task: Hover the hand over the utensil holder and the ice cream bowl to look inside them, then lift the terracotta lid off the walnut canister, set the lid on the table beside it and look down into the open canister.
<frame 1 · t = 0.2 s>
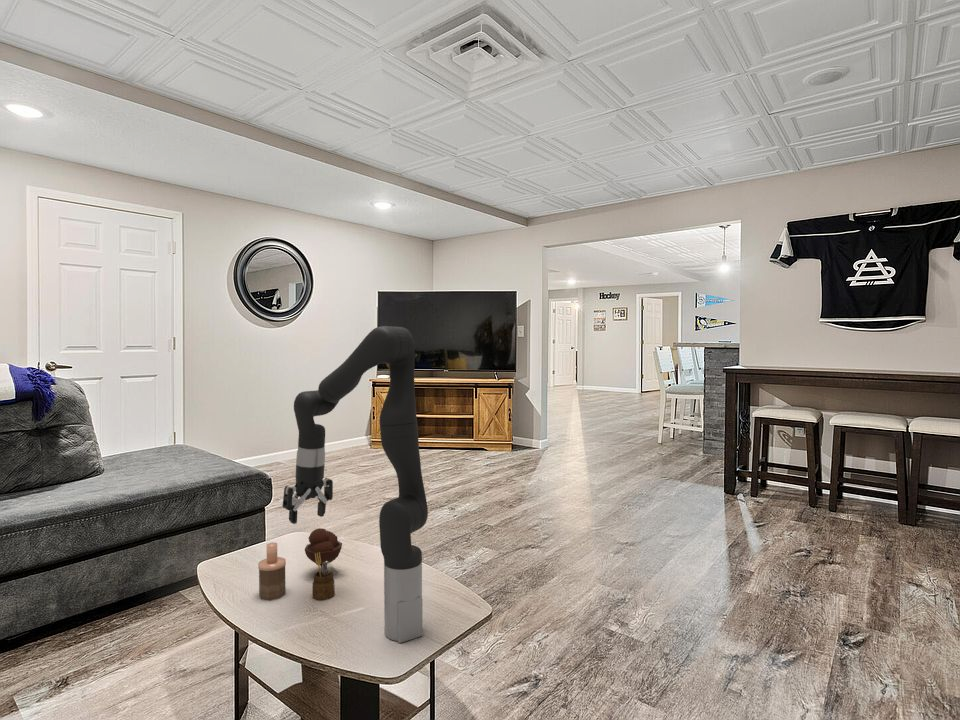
hand: (307, 519, 149), 22 cm above the table, tool pointing down, fingers open, 8 cm apart
ice cream bowl: (324, 577, 164), on the table
lid: (272, 565, 150), point 9 cm above the table, touching canister
utensil holder: (323, 599, 149), on the table
canister: (272, 597, 150), on the table
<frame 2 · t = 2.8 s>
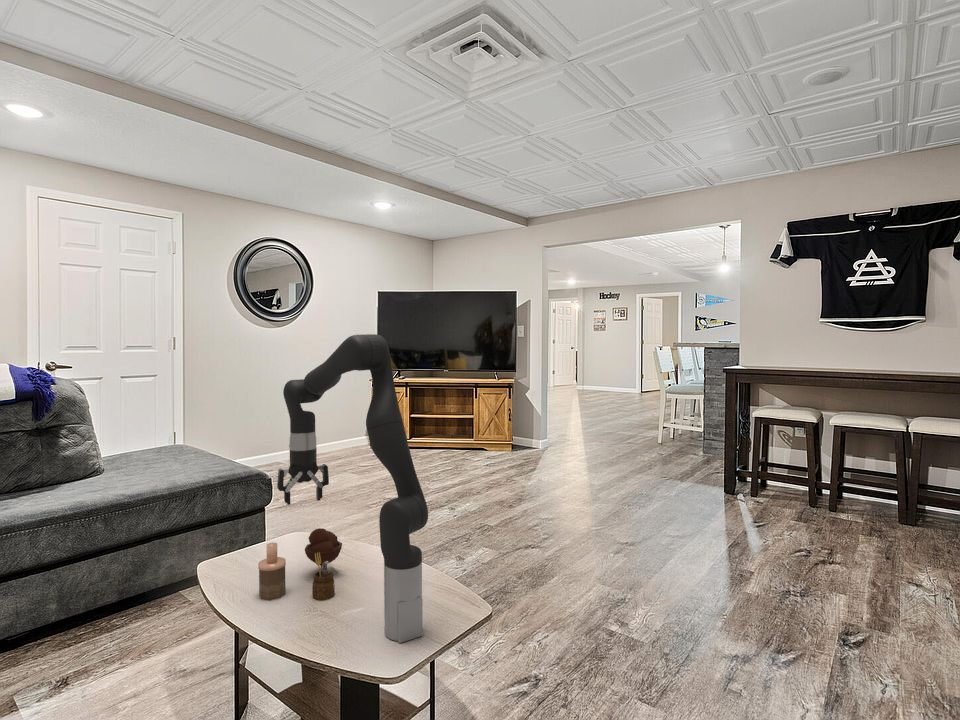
hand: (303, 502, 158), 24 cm above the table, tool pointing down, fingers open, 8 cm apart
nothing on the table moved.
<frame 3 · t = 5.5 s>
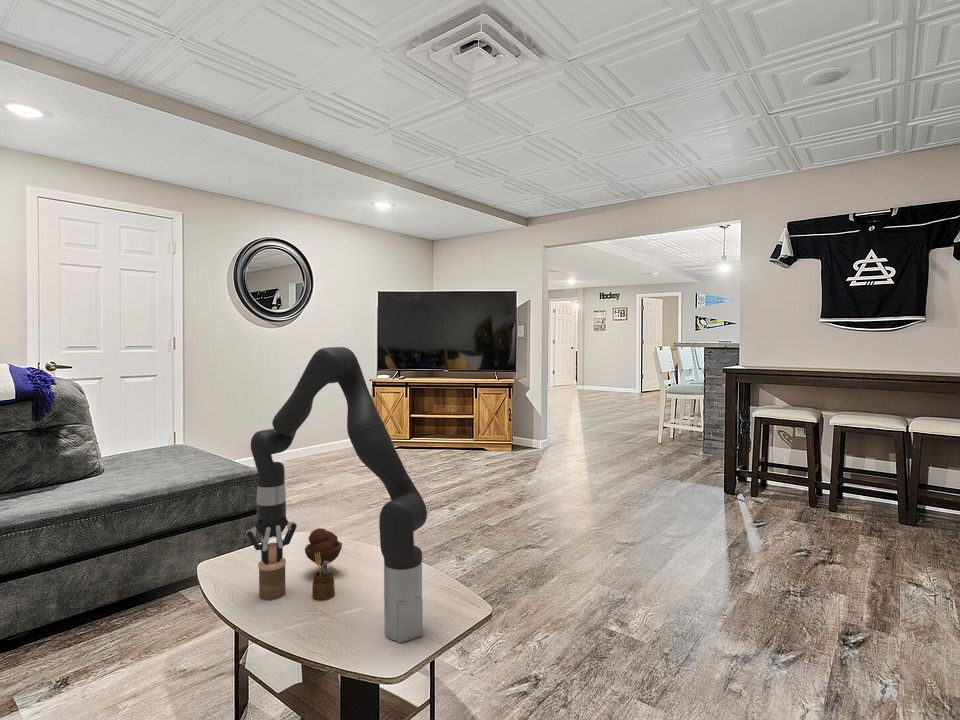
hand: (272, 561, 150), 10 cm above the table, tool pointing down, fingers closed on lid, 2 cm apart
lid: (272, 565, 150), point 9 cm above the table, touching canister, gripper
everything else where it was.
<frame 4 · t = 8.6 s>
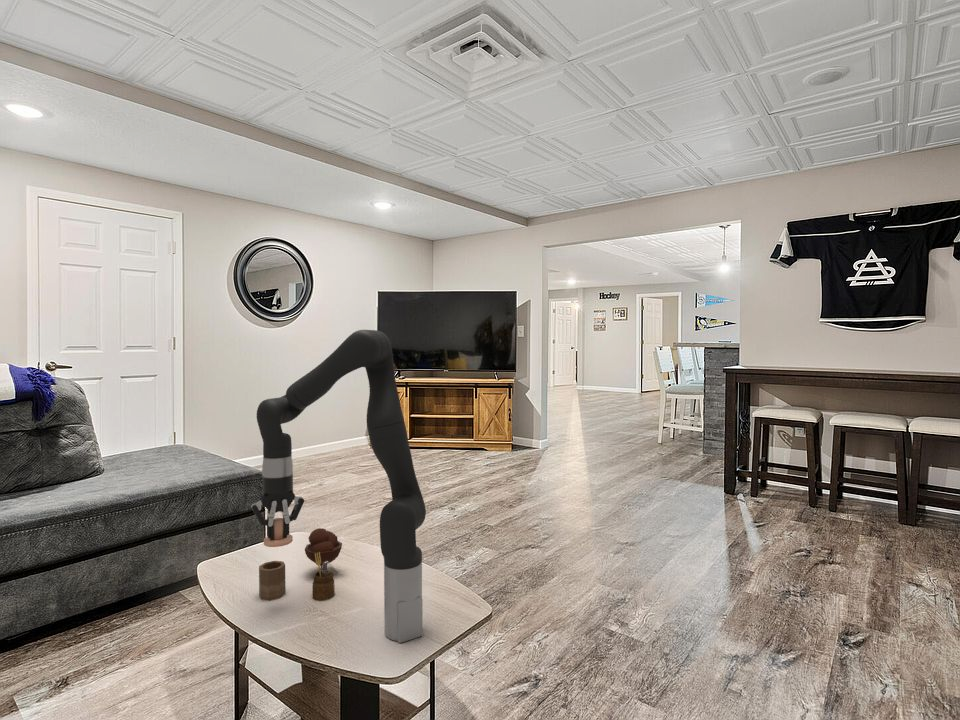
hand: (278, 537, 142), 20 cm above the table, tool pointing down, fingers closed on lid, 2 cm apart
lid: (278, 541, 142), point 18 cm above the table, touching gripper
everything else where it was.
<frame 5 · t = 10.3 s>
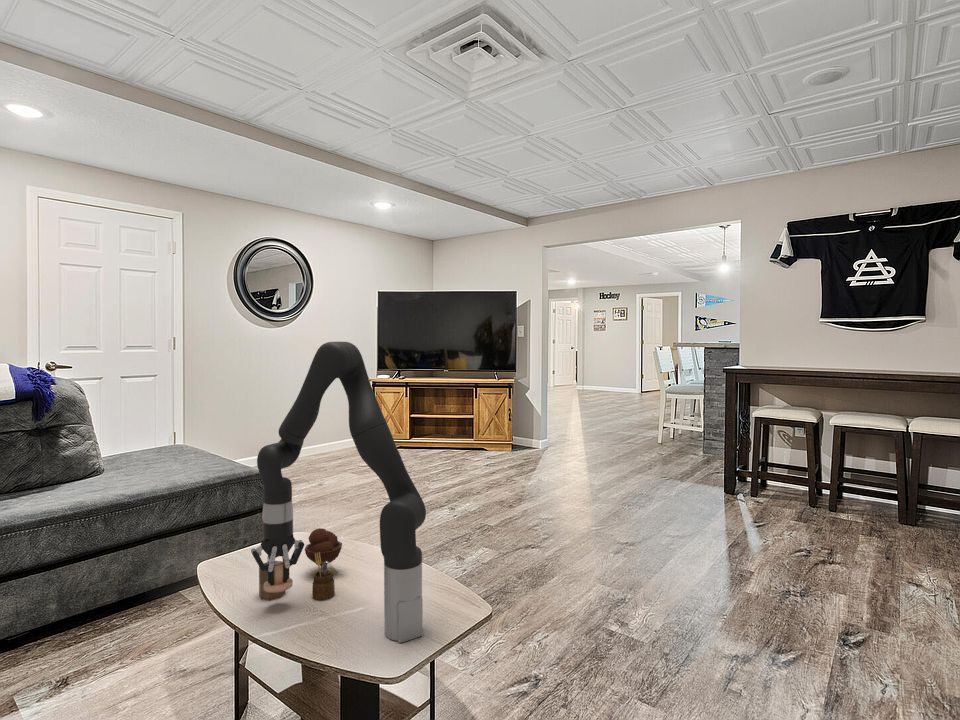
hand: (278, 582, 142), 8 cm above the table, tool pointing down, fingers closed on lid, 2 cm apart
lid: (278, 586, 142), point 7 cm above the table, touching gripper
everything else where it was.
when the fingers open (3 cm above the table, at t = 11.8 s): lid drops 2 cm, on the table.
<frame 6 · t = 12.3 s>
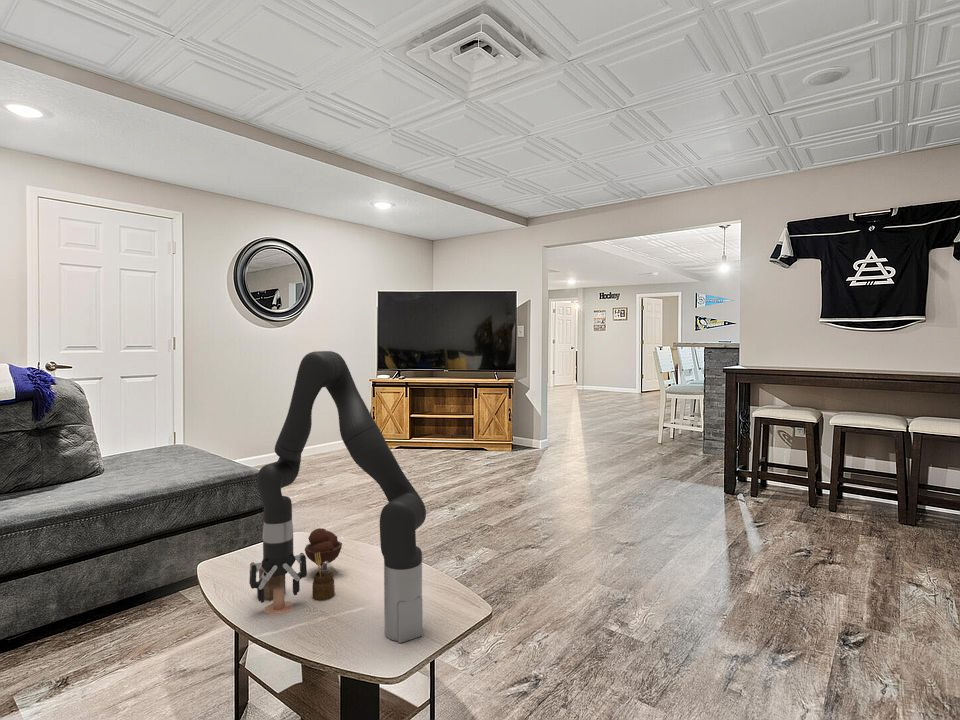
hand: (278, 597, 142), 4 cm above the table, tool pointing down, fingers open, 8 cm apart
lid: (279, 611, 142), on the table
everything else where it was.
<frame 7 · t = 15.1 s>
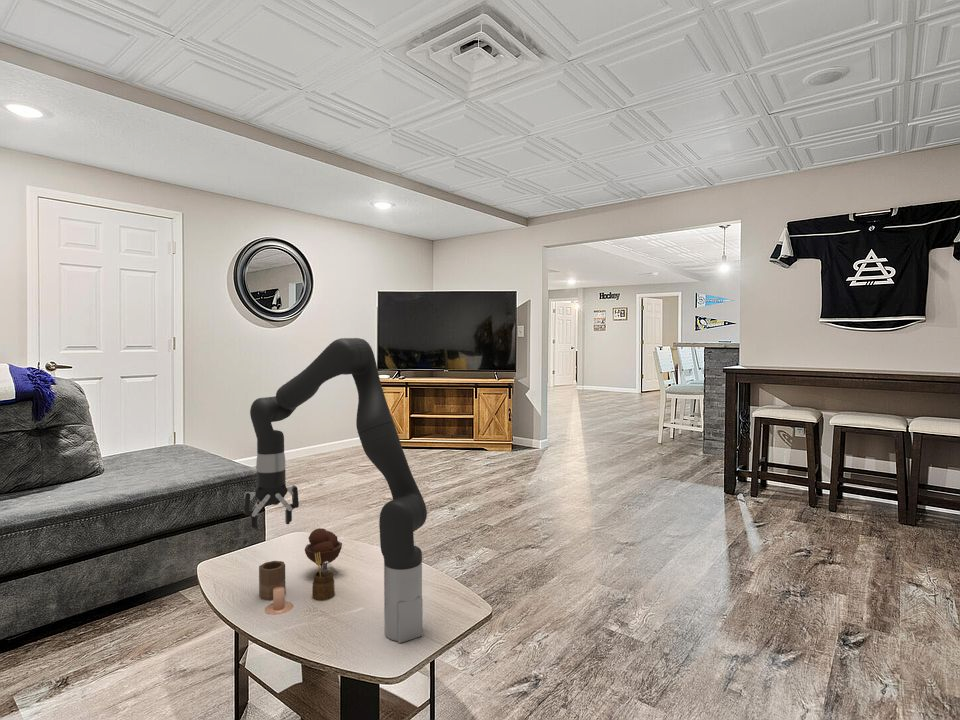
hand: (271, 526, 150), 20 cm above the table, tool pointing down, fingers open, 8 cm apart
nothing on the table moved.
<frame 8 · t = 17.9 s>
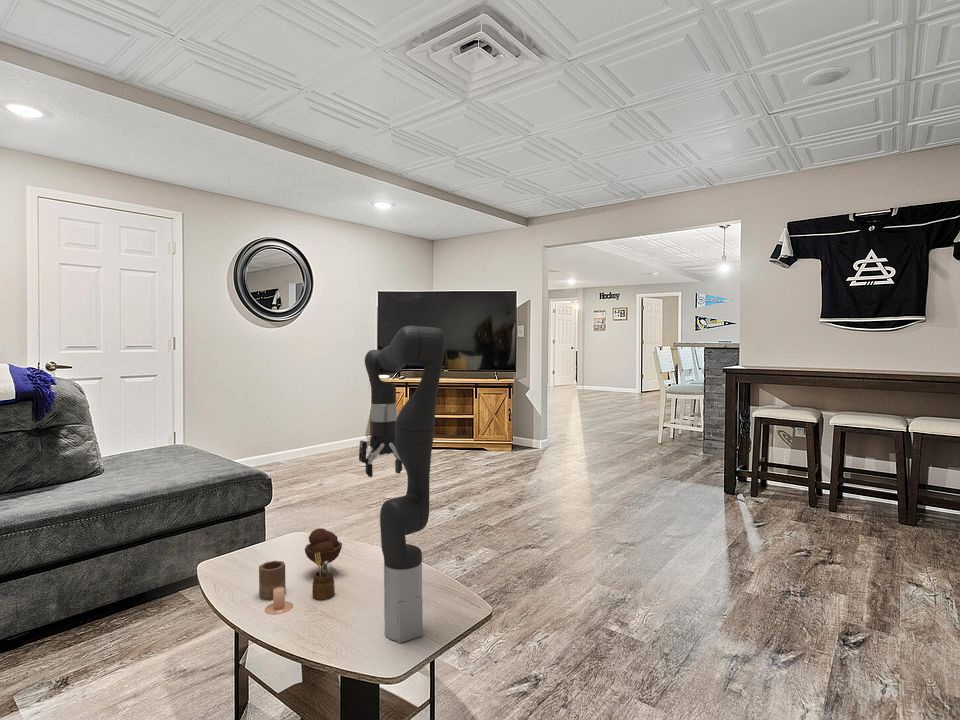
hand: (384, 474, 155), 33 cm above the table, tool pointing down, fingers open, 8 cm apart
nothing on the table moved.
at the end: lid inside the target area (0.5 cm from its centre), on the table; lid tilted 0°; the gripper is holding nothing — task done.
